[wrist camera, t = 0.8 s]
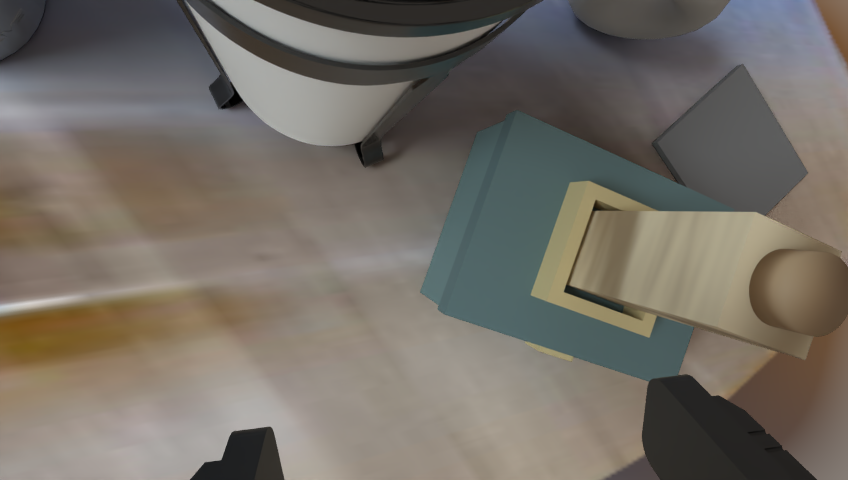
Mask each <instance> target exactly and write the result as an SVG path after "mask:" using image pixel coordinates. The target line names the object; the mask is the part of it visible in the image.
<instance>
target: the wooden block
mask: <svg viewBox="0 0 848 480" xmlns="http://www.w3.org/2000/svg"><path fill="white" fill-rule="evenodd" d="M841 253H842V251H839V250H837V249H835V248H833V247H831V246H829V245H826V244H824V243H822V242H820V241H818V240H816V239H813V238H811V237H809V236H807V235H805V234H803V233H800V232H798V231H796V230H794V229H792V228H790V227H787V226H785V225H783V224H781V223H779V222H777V221H774V220H772V219H770V218H768V217H766V216H764V215H761V214H759V213H757V212H696V211H592V212H591V214H590V217H589V220H588V223H587V226H586V229H585V232H584V234H583V237H582V240H581V243H580V246H579V249H578V252H577V255H576V257H575V260H574V263H573V266H572V269H571V272H570V275H569V277H568V280H567V283H566V285H568V286H570V287H573V288H576V289H578V290H581V291H584V292H587V293H589V294H592V295H595V296H597V297H600V298H603V299H606V300H608V301H611V302H614V303H616V304H619V305H623V306H626V307H629V308H633V309H636V310H639V311H643V312H646V313H649V314H653V315H656V316H659V317H663V318H666V319H669V320H673V321H676V322H679V323H683V324H686V325H689V326H693V327H696V328H699V329H703V330H706V331H709V332H713V333H716V334H720V335H723V336H726V337H730V338H733V339H736V340H740V341H743V342H746V343H750V344H753V345H756V346H760V347H763V348H766V349H770V350H773V351H776V352H780V353H783V354H786V355H790V356H793V357H796V358H800V359H803V360H806V357H807V354H808V351H809V348H810V345H811V342H812V339H813V336H815V337H819V336H824V335H827V334H829V333H831V332H833V331H834V330H836V329H837V328H838V327H839V326H840V325H841V324H842V322H843V321H844V320H845V318H846V316H847V314H848V267H847V265H846V264H845V262H844V261H843V260H842V259H841V258H840V256H841Z"/></svg>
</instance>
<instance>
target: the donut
mask: <svg viewBox="0 0 848 480" xmlns="http://www.w3.org/2000/svg"><path fill="white" fill-rule="evenodd" d="M568 1H569V4H570V6H571V8H572V10H573V12H574V13H575V15H576V16H577V17H578V19H580V20H581V21H582V22H584V23H585V24H586V25H587V26H589V27H591V28H593V29H596V30H598V31H600V32H603V33H605V34H609V35H613V36H617V37H621V38H630V39H662V38H668V37H675V36H679V35H683V34H686V33H689V32H692V31H695V30H698V29H699V28H701V27H703V26H704V25H706V24H708V23H710V22H711V21H713V20H714V19H715V18H717V17H718V15H719V14H720V13H721V12H722V10H723V9H724V8H725V6H726V5H727V4H728V3H729V1H730V0H568Z"/></svg>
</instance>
